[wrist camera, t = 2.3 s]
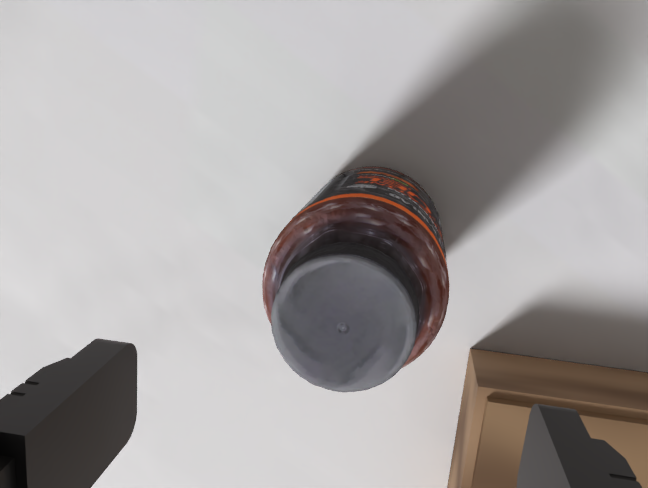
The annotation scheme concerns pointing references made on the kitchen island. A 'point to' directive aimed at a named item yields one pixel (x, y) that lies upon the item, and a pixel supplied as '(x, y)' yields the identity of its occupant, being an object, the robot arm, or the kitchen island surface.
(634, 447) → the plinth
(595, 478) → the robot arm
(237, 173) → the kitchen island surface
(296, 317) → the supplement bottle
